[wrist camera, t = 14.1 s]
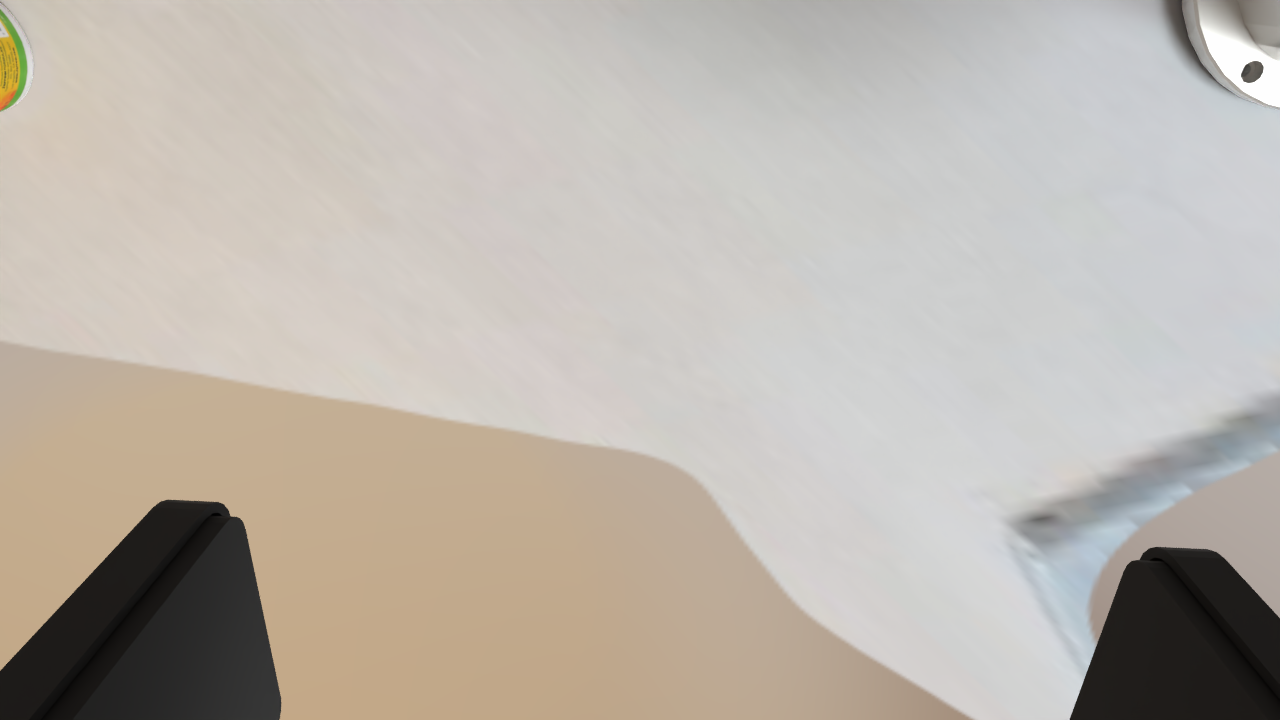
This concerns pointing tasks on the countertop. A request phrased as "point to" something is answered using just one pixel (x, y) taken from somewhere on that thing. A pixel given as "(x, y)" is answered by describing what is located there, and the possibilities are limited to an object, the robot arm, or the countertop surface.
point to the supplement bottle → (13, 61)
